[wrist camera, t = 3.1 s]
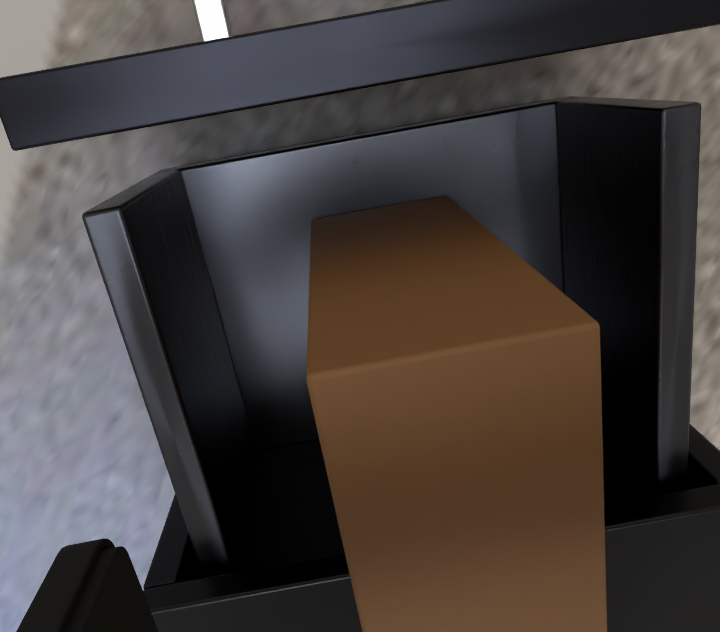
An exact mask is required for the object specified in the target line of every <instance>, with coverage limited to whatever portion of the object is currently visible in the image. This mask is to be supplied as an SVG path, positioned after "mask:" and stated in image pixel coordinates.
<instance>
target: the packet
mask: <svg viewBox="0 0 720 632" xmlns="http://www.w3.org/2000/svg"><path fill="white" fill-rule="evenodd" d="M306 381H307V386H308V390H309V395H310V399H311V404H312V408H313V413H314V417H315V422H316V426H317V431H318V435H319V440H320V444H321V449H322V453H323V457H324V462H325V466H326V471H327V475H328V480H329V484H330V489H331V493H332V498H333V502H334V507H335V511H336V516H337V520H338V525H339V529H340V534H341V538H342V542H343V547H344V551H345V556H346V560H347V565H348V569H349V574H350V578H351V583H352V587H353V592H354V596H355V601H356V605H357V610H358V614H359V618H360V623H361V627H362V632H607V606H606V564H605V522H604V480H603V438H602V396H601V354H600V326H599V324H598V322H597V321H596V320H595V319H593V318H592V317H591V316H590V315H589V314H587V313H586V312H585V311H584V310H583V309H582V308H580V307H579V306H578V305H577V304H576V303H574V302H573V301H572V300H571V299H570V298H568V297H567V296H566V295H565V294H564V293H563V292H561V291H560V290H559V289H558V288H557V287H555V286H554V285H553V284H552V283H551V282H550V281H548V280H547V279H546V278H545V277H544V276H542V275H541V274H540V273H539V272H538V271H536V270H535V269H534V268H533V267H532V266H531V265H529V264H528V263H527V262H526V261H525V260H523V259H522V258H521V257H520V256H519V255H517V254H516V253H515V252H514V251H513V250H512V249H510V248H509V247H508V246H507V245H506V244H504V243H503V242H502V241H501V240H500V239H498V238H497V237H496V236H495V235H494V234H493V233H491V232H490V231H489V230H488V229H487V228H485V227H484V226H483V225H482V224H481V223H480V222H478V221H477V220H476V219H475V218H474V217H472V216H471V215H470V214H469V213H468V212H466V211H465V210H464V209H463V208H462V207H461V206H459V205H458V204H457V203H456V202H455V201H453V200H452V199H451V198H450V197H449V196H440V197H435V198H429V199H424V200H418V201H412V202H407V203H401V204H396V205H390V206H385V207H379V208H374V209H368V210H363V211H357V212H351V213H346V214H340V215H335V216H329V217H324V218H318V219H313V220H312V221H311V238H310V270H309V302H308V334H307V366H306Z"/></svg>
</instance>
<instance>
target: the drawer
mask: <svg viewBox="0 0 720 632" xmlns="http://www.w3.org/2000/svg"><path fill="white" fill-rule="evenodd" d="M192 1H193V5H194V10H195V14H196V18H197V22H198V26H199V30H200V35H201V39H202V42H197V43H192V44H186V45H180V46H175V47H169V48H164V49H158V50H152V51H147V52H141V53H136V54H130V55H124V56H119V57H113V58H108V59H102V60H97V61H91V62H85V63H80V64H74V65H69V66H63V67H57V68H52V69H46V70H41V71H35V72H30V73H25V74H18V75H13V76H7V77H2V78H0V118H1V120H2V123H3V126H4V129H5V131H6V134H7V137H8V139H9V142H10V145H11V148H12V149H13V150H15V151H17V150H23V149H28V148H34V147H39V146H45V145H50V144H56V143H62V142H67V141H73V140H78V139H84V138H89V137H95V136H101V135H106V134H112V133H117V132H123V131H128V130H134V129H140V128H145V127H151V126H156V125H162V124H167V123H173V122H179V121H184V120H190V119H195V118H201V117H206V116H212V115H218V114H223V113H229V112H234V111H240V110H245V109H251V108H257V107H262V106H268V105H273V104H279V103H284V102H290V101H296V100H301V99H307V98H312V97H318V96H323V95H329V94H335V93H340V92H346V91H351V90H357V89H362V88H368V87H374V86H379V85H385V84H390V83H396V82H401V81H407V80H413V79H418V78H424V77H429V76H435V75H440V74H446V73H452V72H457V71H463V70H468V69H474V68H479V67H485V66H491V65H496V64H502V63H507V62H513V61H518V60H524V59H530V58H535V57H541V56H546V55H552V54H557V53H563V52H569V51H574V50H580V49H585V48H591V47H596V46H602V45H608V44H613V43H619V42H624V41H630V40H635V39H641V38H647V37H652V36H658V35H663V34H669V33H674V32H680V31H686V30H691V29H697V28H702V27H708V26H713V25H719V24H720V0H432V1H426V2H421V3H415V4H410V5H404V6H398V7H393V8H387V9H382V10H376V11H370V12H365V13H359V14H354V15H348V16H342V17H337V18H331V19H326V20H320V21H315V22H309V23H303V24H298V25H292V26H287V27H281V28H275V29H270V30H264V31H259V32H253V33H247V34H242V35H236V36H233V32H232V27H231V22H230V18H229V13H228V9H227V4H226V0H192ZM700 125H701V104H700V103H698V102H684V101H663V100H642V99H620V98H599V97H577V96H569V97H563V98H558V99H552V100H547V101H541V102H535V103H530V104H524V105H519V106H513V107H508V108H502V109H496V110H491V111H485V112H480V113H474V114H469V115H463V116H458V117H452V118H446V119H441V120H435V121H430V122H424V123H419V124H413V125H407V126H402V127H396V128H391V129H385V130H380V131H374V132H369V133H363V134H357V135H352V136H346V137H341V138H335V139H330V140H324V141H318V142H313V143H307V144H302V145H296V146H291V147H285V148H280V149H274V150H268V151H263V152H257V153H252V154H246V155H241V156H235V157H229V158H224V159H218V160H213V161H207V162H202V163H196V164H191V165H185V166H179V167H174V168H168V169H163V170H160V171H158V172H156V173H155V174H153V175H151V176H149V177H148V178H146V179H144V180H142V181H140V182H139V183H137V184H135V185H133V186H131V187H130V188H128V189H126V190H124V191H122V192H121V193H119V194H117V195H115V196H113V197H112V198H110V199H108V200H106V201H104V202H103V203H101V204H99V205H97V206H95V207H94V208H92V209H90V210H88V211H86V212H85V213H83V215H82V218H83V221H84V224H85V227H86V230H87V233H88V236H89V239H90V242H91V245H92V248H93V251H94V254H95V257H96V260H97V263H98V266H99V269H100V272H101V275H102V278H103V281H104V284H105V287H106V289H107V292H108V295H109V298H110V301H111V304H112V307H113V310H114V313H115V316H116V319H117V322H118V325H119V328H120V331H121V334H122V337H123V340H124V343H125V346H126V349H127V352H128V355H129V357H130V360H131V363H132V366H133V369H134V372H135V375H136V378H137V381H138V384H139V387H140V390H141V393H142V396H143V399H144V402H145V405H146V408H147V411H148V414H149V417H150V420H151V423H152V426H153V428H154V431H155V434H156V437H157V440H158V443H159V446H160V449H161V452H162V455H163V458H164V461H165V464H166V467H167V470H168V473H169V476H170V479H171V482H172V485H173V488H174V491H175V494H176V497H177V499H178V502H179V505H180V508H181V511H182V514H183V517H184V520H185V523H186V526H187V529H188V532H189V535H190V538H191V541H192V544H193V547H194V550H195V553H196V556H197V559H198V562H199V565H200V568H201V570H202V573H203V576H204V578H207V577H212V576H218V575H223V574H228V573H234V572H239V571H245V570H250V569H256V568H261V567H267V566H272V565H278V564H283V563H289V562H294V561H300V560H305V559H311V558H316V557H321V556H327V555H332V554H338V553H343V552H345V551H344V547H343V542H342V538H341V534H340V529H339V525H338V520H337V516H336V511H335V507H334V502H333V498H332V493H331V489H330V484H329V480H328V475H327V471H326V466H325V462H324V457H323V453H322V449H321V444H320V440H319V435H318V431H317V426H316V422H315V417H314V413H313V408H312V404H311V399H310V395H309V390H308V386H307V381H306V366H307V334H308V302H309V270H310V238H311V221H312V220H313V219H318V218H324V217H329V216H335V215H340V214H346V213H351V212H357V211H363V210H368V209H374V208H379V207H385V206H390V205H396V204H401V203H407V202H412V201H418V200H424V199H429V198H435V197H440V196H449V197H450V198H451V199H452V200H453V201H455V202H456V203H457V204H458V205H459V206H461V207H462V208H463V209H464V210H465V211H466V212H468V213H469V214H470V215H471V216H472V217H474V218H475V219H476V220H477V221H478V222H480V223H481V224H482V225H483V226H484V227H485V228H487V229H488V230H489V231H490V232H491V233H493V234H494V235H495V236H496V237H497V238H498V239H500V240H501V241H502V242H503V243H504V244H506V245H507V246H508V247H509V248H510V249H512V250H513V251H514V252H515V253H516V254H517V255H519V256H520V257H521V258H522V259H523V260H525V261H526V262H527V263H528V264H529V265H531V266H532V267H533V268H534V269H535V270H536V271H538V272H539V273H540V274H541V275H542V276H544V277H545V278H546V279H547V280H548V281H550V282H551V283H552V284H553V285H554V286H555V287H557V288H558V289H559V290H560V291H561V292H563V293H564V294H565V295H566V296H567V297H568V298H570V299H571V300H572V301H573V302H574V303H576V304H577V305H578V306H579V307H580V308H582V309H583V310H584V311H585V312H586V313H587V314H589V315H590V316H591V317H592V318H593V319H595V320H596V321H597V322H598V324H599V326H600V354H601V396H602V438H603V480H604V505H606V504H611V503H617V502H622V501H628V500H633V499H639V498H644V497H650V496H655V495H661V494H666V493H672V492H677V491H683V490H687V476H688V449H689V422H690V395H691V368H692V341H693V314H694V287H695V260H696V233H697V206H698V179H699V152H700Z"/></svg>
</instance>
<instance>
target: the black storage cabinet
mask: <svg viewBox="0 0 720 632" xmlns="http://www.w3.org/2000/svg"><path fill="white" fill-rule="evenodd" d="M604 522H605V564H606V606H607V632H720V451H719V450H718V449H717V448H716V447H715V446H714V445H713V444H712V443H710V442H709V441H708V440H707V439H706V438H705V437H704V436H703V435H702V434H700V433H699V432H698V431H697V430H696V429H695V428H694V427H693V426H692V425H691V424H689V449H688V476H687V490H683V491H677V492H672V493H666V494H661V495H655V496H650V497H644V498H639V499H633V500H628V501H622V502H617V503H611V504H606V505H604ZM143 593H144V595H145V598H146V600H147V603H148V606H149V608H150V611H151V613H152V616H153V618H154V621H155V624H156V626H157V629H158V631H159V632H362V627H361V623H360V618H359V614H358V610H357V605H356V601H355V596H354V592H353V587H352V583H351V578H350V574H349V569H348V565H347V560H346V556H345V552H343V553H338V554H332V555H327V556H321V557H316V558H311V559H305V560H300V561H294V562H289V563H283V564H278V565H272V566H267V567H261V568H256V569H250V570H245V571H239V572H234V573H228V574H223V575H218V576H212V577H207V578H204V576H203V573H202V570H201V568H200V565H199V562H198V559H197V556H196V553H195V550H194V547H193V544H192V541H191V538H190V535H189V532H188V529H187V526H186V523H185V520H184V517H183V514H182V511H181V508H180V505H179V502H178V499H177V497H176V494H175V496H174V499H173V502H172V505H171V508H170V511H169V514H168V516H167V519H166V522H165V525H164V528H163V531H162V534H161V537H160V540H159V543H158V546H157V549H156V552H155V554H154V557H153V560H152V563H151V566H150V569H149V572H148V575H147V578H146V581H145V584H144V590H143Z"/></svg>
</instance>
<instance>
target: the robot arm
mask: <svg viewBox="0 0 720 632" xmlns="http://www.w3.org/2000/svg"><path fill="white" fill-rule="evenodd" d="M16 632H159V631H158V629H157V626H156V624H155V621H154V618H153V616H152V613H151V611H150V608H149V606H148V603H147V600H146V598H145V595H144V593H143V590H142V588H141V585H140V583H139V580H138V577H137V575H136V572H135V570H134V567H133V565H132V562H131V559H130V557H129V554H128V552H127V550H126V549H125V548H124V547H115V546H114V545H113V543H112V542H111V541H110V540H109V539H99V540H94V541H89V542H84V543H78V544H73V545H68V546H65V547H63V548H62V549H61V550H60V552H59V553H58V554H57V556H56V558H55V560H54V562H53V564H52V566H51V568H50V569H49V571H48V573H47V575H46V577H45V579H44V581H43V583H42V584H41V586H40V588H39V590H38V592H37V594H36V596H35V598H34V600H33V601H32V603H31V605H30V607H29V609H28V611H27V613H26V615H25V616H24V618H23V620H22V622H21V624H20V626H19V628H18V630H17V631H16Z"/></svg>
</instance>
